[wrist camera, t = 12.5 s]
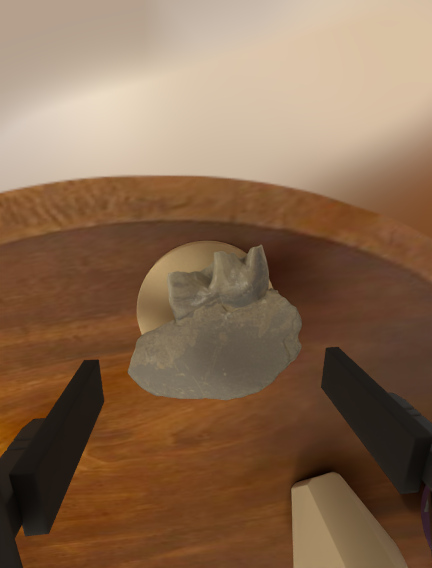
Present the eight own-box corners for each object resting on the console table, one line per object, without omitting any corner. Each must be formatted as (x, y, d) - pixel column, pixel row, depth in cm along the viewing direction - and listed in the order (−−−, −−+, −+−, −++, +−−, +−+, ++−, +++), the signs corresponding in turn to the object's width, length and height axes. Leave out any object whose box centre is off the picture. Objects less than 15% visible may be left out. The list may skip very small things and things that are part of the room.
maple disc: (134, 241, 25) (130, 243, 23) (274, 239, 26) (279, 241, 24) (144, 368, 28) (141, 376, 27) (267, 361, 29) (271, 369, 28)
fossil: (260, 305, 30) (251, 223, 23) (323, 384, 22) (335, 294, 15) (134, 358, 27) (85, 284, 21) (153, 469, 20) (84, 404, 13)
